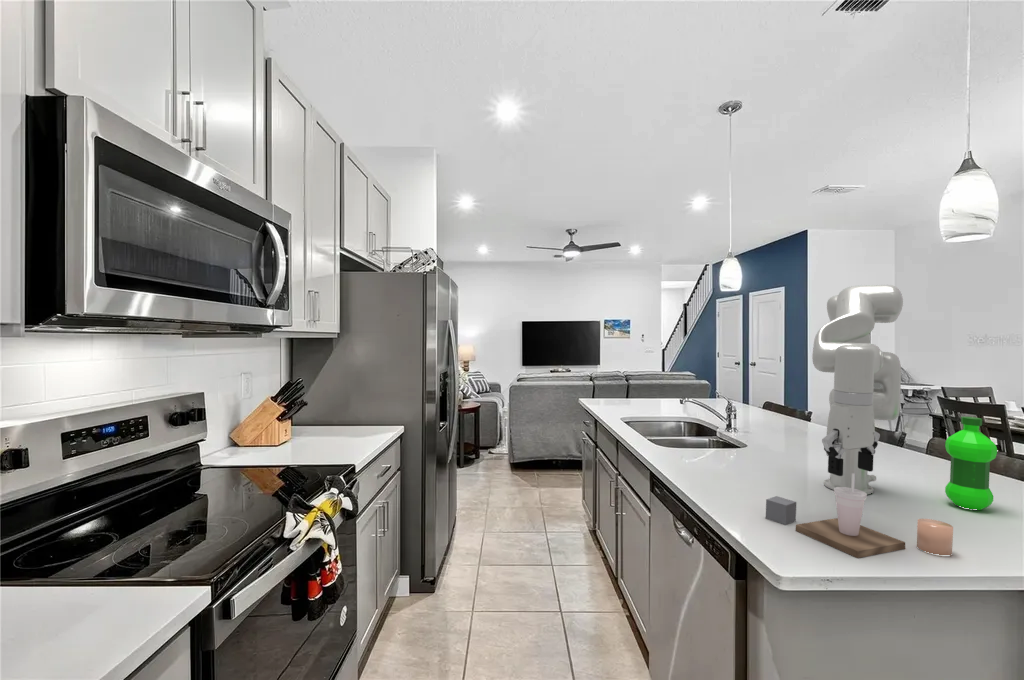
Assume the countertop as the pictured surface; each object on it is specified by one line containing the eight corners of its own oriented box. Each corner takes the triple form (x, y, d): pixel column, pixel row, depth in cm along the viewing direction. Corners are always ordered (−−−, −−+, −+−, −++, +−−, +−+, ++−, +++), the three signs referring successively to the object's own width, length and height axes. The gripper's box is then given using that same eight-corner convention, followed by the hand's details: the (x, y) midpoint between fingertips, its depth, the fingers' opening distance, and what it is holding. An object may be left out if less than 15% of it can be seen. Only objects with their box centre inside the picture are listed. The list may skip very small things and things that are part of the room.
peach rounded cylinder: (927, 543, 113) (928, 517, 113) (958, 554, 108) (959, 527, 108) (910, 546, 111) (911, 520, 111) (940, 558, 106) (941, 530, 106)
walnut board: (840, 523, 124) (840, 517, 124) (905, 548, 110) (905, 542, 110) (795, 530, 119) (795, 524, 119) (857, 558, 105) (857, 551, 105)
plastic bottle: (944, 498, 145) (948, 413, 144) (995, 508, 137) (998, 418, 137) (941, 506, 138) (944, 417, 137) (994, 517, 130) (997, 422, 130)
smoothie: (855, 540, 110) (857, 478, 110) (826, 529, 116) (828, 470, 116) (871, 535, 113) (873, 474, 113) (842, 525, 119) (844, 467, 119)
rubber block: (775, 514, 130) (776, 496, 129) (795, 521, 125) (796, 501, 125) (765, 518, 127) (766, 499, 127) (785, 525, 123) (786, 505, 122)
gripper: (862, 394, 120) (860, 463, 121) (810, 398, 115) (808, 471, 115) (895, 399, 113) (893, 472, 114) (841, 403, 108) (839, 481, 108)
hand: (850, 472), depth 115 cm, fingers open, 9 cm apart
